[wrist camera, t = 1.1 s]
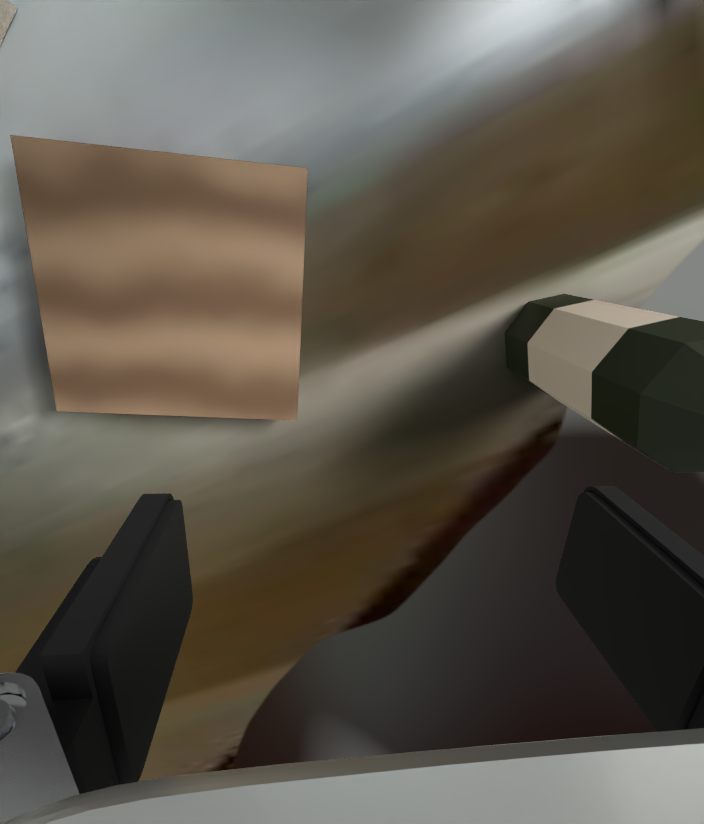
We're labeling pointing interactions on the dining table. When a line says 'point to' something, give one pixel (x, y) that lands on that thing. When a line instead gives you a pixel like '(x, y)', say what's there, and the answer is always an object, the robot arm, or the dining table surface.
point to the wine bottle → (618, 372)
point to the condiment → (5, 16)
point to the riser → (166, 279)
